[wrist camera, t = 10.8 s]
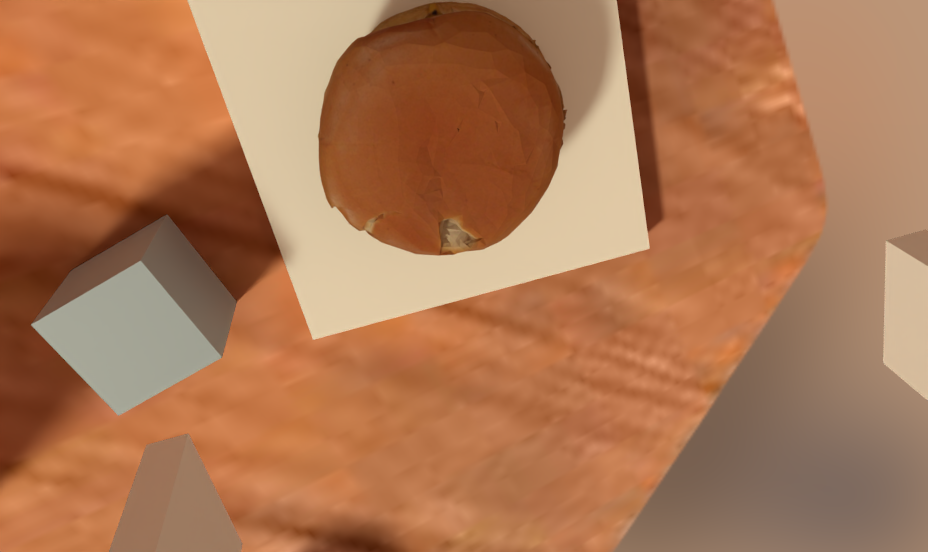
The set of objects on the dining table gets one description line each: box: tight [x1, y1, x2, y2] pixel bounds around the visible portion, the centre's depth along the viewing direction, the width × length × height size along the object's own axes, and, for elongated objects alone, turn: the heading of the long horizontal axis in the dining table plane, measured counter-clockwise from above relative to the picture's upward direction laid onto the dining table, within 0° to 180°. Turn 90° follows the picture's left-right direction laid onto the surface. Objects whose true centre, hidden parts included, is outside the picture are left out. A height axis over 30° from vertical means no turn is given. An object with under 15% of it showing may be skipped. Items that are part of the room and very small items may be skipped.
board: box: [188, 0, 650, 340], centre depth 33 cm, size 16×16×1 cm
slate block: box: [31, 214, 237, 416], centre depth 33 cm, size 5×5×5 cm
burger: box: [318, 2, 567, 256], centre depth 30 cm, size 10×9×5 cm
